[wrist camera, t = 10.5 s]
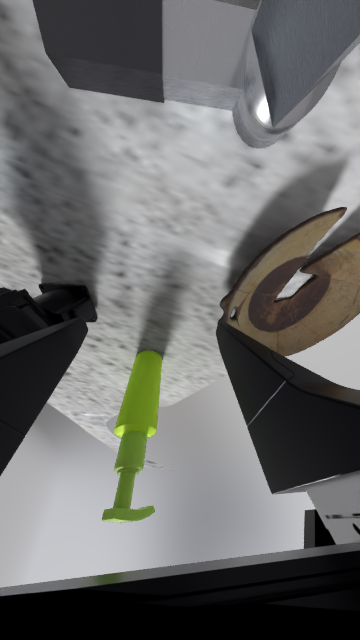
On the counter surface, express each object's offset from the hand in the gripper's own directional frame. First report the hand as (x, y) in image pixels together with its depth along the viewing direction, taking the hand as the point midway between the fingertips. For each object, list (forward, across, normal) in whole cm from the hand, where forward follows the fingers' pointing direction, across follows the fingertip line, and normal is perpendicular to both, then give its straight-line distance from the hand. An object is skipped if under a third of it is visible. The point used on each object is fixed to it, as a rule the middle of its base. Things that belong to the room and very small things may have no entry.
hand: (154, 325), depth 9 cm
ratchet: (+13, -3, -17) cm, 22 cm away
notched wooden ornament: (+13, -23, +3) cm, 27 cm away
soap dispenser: (+13, +3, +19) cm, 23 cm away
